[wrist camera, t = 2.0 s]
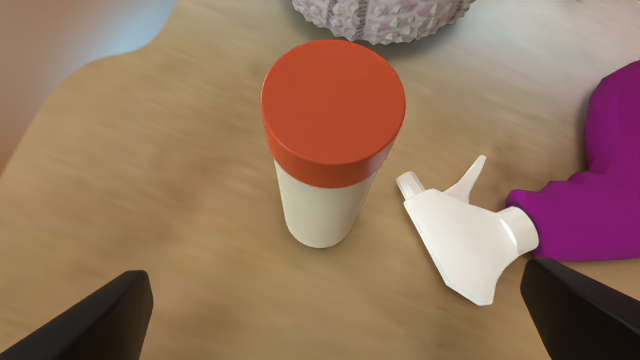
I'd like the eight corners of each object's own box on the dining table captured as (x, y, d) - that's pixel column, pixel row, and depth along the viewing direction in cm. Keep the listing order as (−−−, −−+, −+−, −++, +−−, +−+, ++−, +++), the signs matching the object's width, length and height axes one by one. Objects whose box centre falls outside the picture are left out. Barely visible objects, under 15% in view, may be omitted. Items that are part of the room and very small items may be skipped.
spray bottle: (839, 184, 23) (471, 359, 19) (710, 41, 26) (377, 166, 23) (911, 165, 20) (498, 364, 17) (757, 8, 24) (386, 144, 20)
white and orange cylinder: (368, 224, 21) (436, 111, 10) (312, 267, 20) (319, 194, 9) (325, 172, 22) (345, 16, 11) (269, 210, 21) (231, 83, 10)
